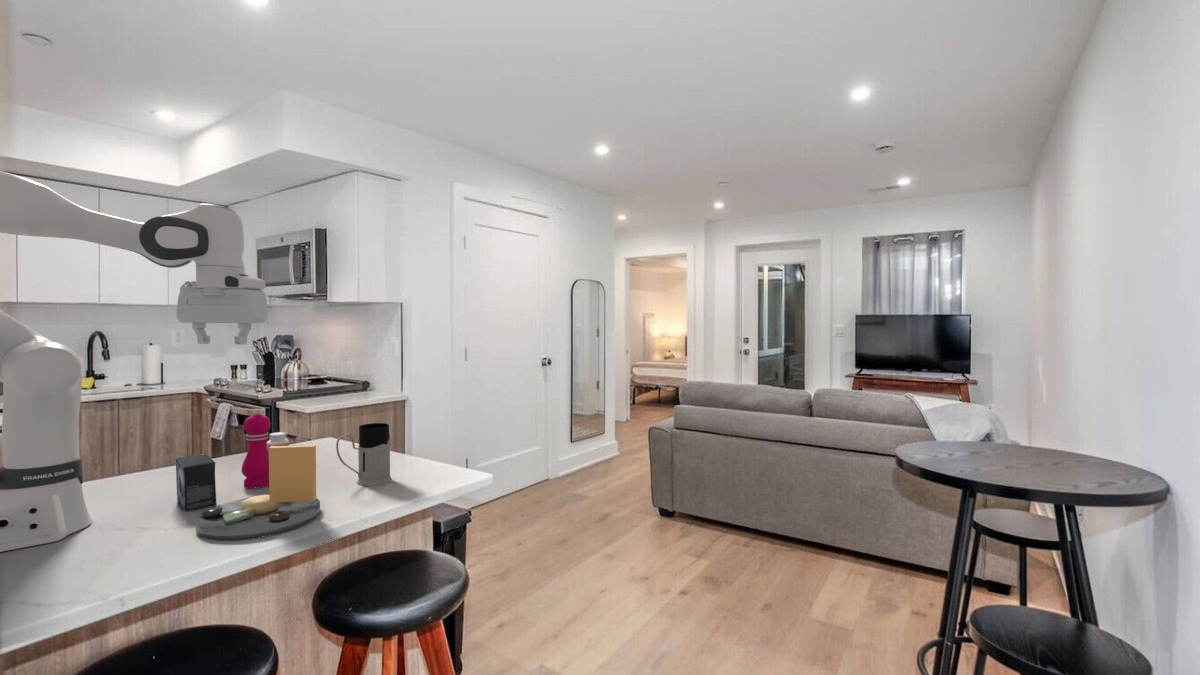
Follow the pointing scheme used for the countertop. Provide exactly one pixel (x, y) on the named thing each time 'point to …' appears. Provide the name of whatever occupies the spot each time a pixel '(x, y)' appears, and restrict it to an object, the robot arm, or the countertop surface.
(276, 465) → the tan slab with dome
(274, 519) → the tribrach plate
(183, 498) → the small box
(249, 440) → the pepper mill
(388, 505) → the countertop surface
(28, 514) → the robot arm
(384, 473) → the glass holder
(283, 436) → the supplement bottle
